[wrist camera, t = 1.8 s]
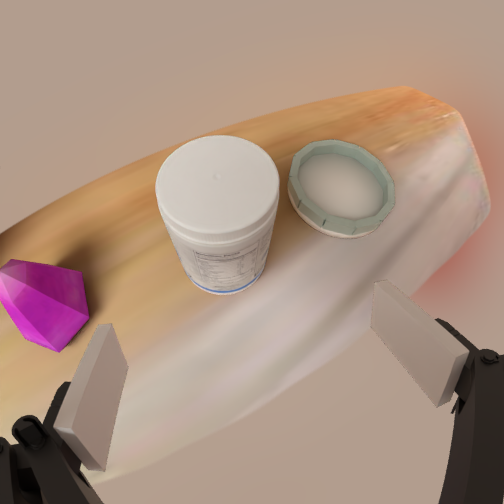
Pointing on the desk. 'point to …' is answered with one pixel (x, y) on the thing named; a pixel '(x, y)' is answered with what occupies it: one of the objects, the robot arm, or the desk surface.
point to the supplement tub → (219, 210)
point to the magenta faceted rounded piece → (44, 301)
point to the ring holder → (340, 188)
